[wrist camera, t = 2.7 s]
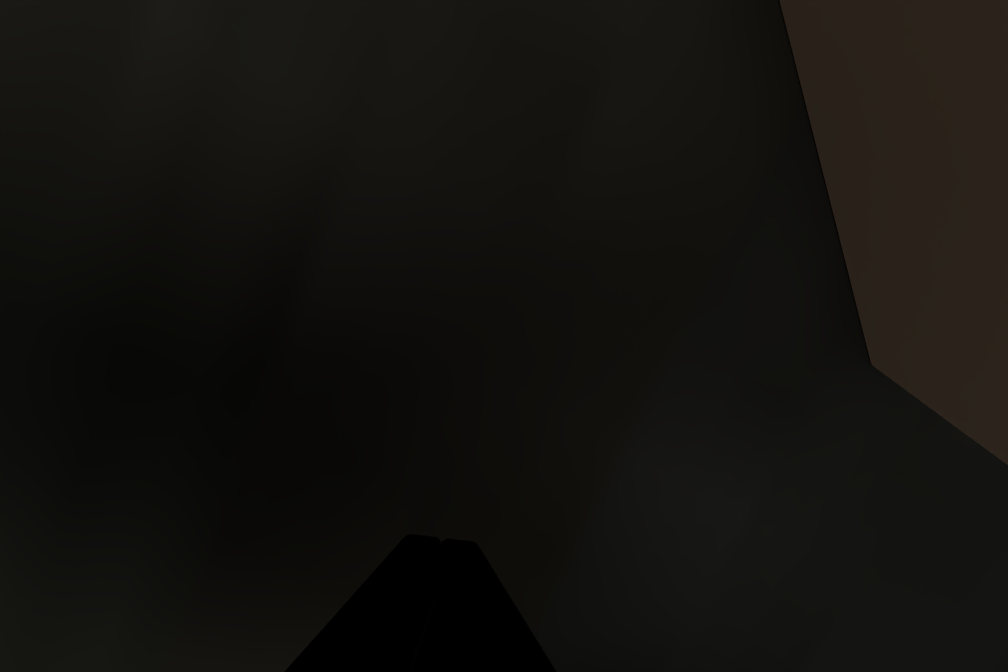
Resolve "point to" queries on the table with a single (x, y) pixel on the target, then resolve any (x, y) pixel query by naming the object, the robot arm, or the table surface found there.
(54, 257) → the table surface
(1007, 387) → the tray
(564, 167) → the table surface
